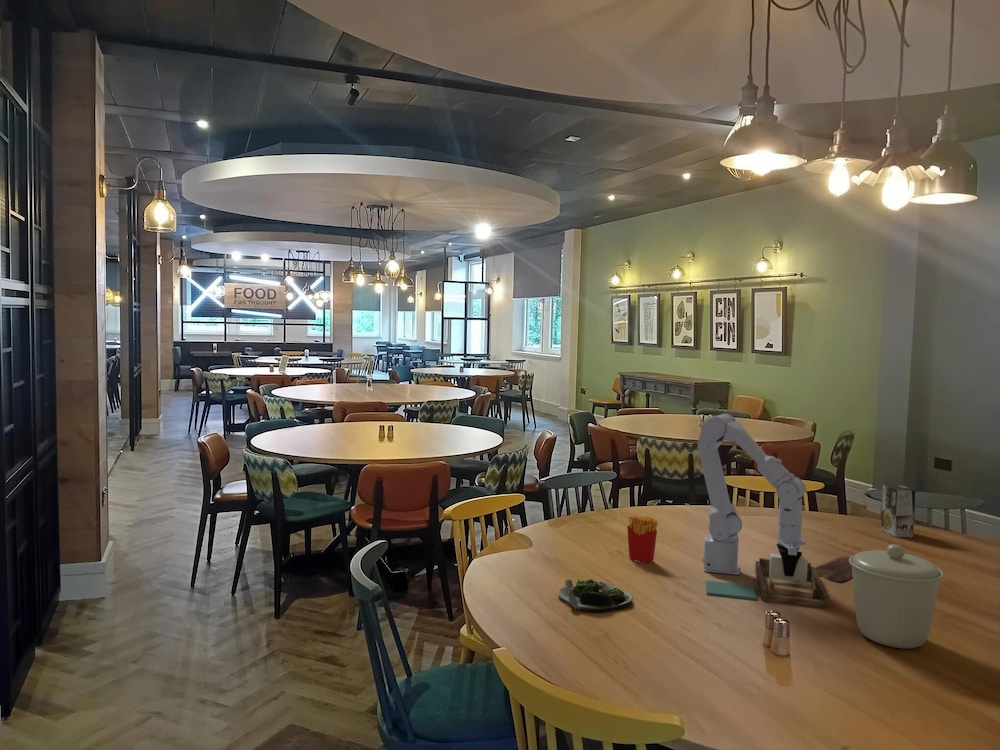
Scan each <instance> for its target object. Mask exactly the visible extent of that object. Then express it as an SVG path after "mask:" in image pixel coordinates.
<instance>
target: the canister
mask: <svg viewBox="0 0 1000 750" xmlns="http://www.w3.org/2000/svg"><path fill="white" fill-rule="evenodd" d="M849 557H850V558H849V563H850V564H851V565H852V574H853V577H852V586H853V599H854V600H853V601H854V609H855V617H856V618H855V619H856V623H857V627H858V629H859V631H860V633H861V634H862V635H863V636H865V638H867V639H869V640H871V641H872V642H874V643H877V644H880V645H883V646H885V647H891V648H894V649H895V648H897V649H906V650H907V649H915V648H919V647H921V646H923V645H924V644H925V643H926V641H927V639H928V637H929V635H930V631H931V625H932V622H933V621H932V620H933V616H934V613H935V612H934V611H935V606H936V600H937V594H938V591H939V590H938V589H939V585H940V584H939V583H940V580H942V579H943V577H944V574H945V573H944V571H943V570H942V569H940V568H939V567H938V566H936V565H934V563H932V562H930V561H929V560H927V559H924V558H923V557H922V558H921V557H919V556H916V555H912V554H908V553H906V551H905V548H904V547H902V545H899V544H895V543H892V544H889V545H888V546H887V547H886V550H879V549H873V550H866V551H865V550H864V551H860V552H857V553H855V554H853V555H851V556H849Z"/></svg>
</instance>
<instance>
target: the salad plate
mask: <svg viewBox="0 0 1000 750" xmlns="http://www.w3.org/2000/svg"><path fill="white" fill-rule="evenodd" d="M564 583H565V586H563V587H560V588H559V589H558V590H557V594H558V596H559V597H560V598H561V599H562V600H563V601H565V602H566V603H568V604H569V605H570V606H571V607H572V608H574V609H576V610H578V611H580V612H584V613H589V614H590V613H591V614H604V613H610V612H616V611H620V610H623V609H626V608H628V607H629V606H631V605H632V603H633V596H632V594H630V593H629V592H627V591H624V590H622V589H620V588H618V587H617V586H615V585H613V584H612V583H608V582H604V581H596V580H595V581H594V580H593V579H592V578H591V579H590V578H588V579H584V580H581V579H580V578H578V579H577V581H576V583H575V584H574V583H573V582H572V579H566V580H565V581H564ZM599 590H601V591H599Z"/></svg>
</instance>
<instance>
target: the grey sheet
mask: <svg viewBox="0 0 1000 750" xmlns="http://www.w3.org/2000/svg"><path fill="white" fill-rule="evenodd" d="M769 559H770V571H769V574H768V577H769V578H768V582H769V583H770V579H781V580H794V581H807V582H808V578H807V565H808V563H809V562H808V561H809V560H808V558H807V556H801V557H800V558H799V560H798V562H797V565H796V569H795V572H794V576H793V577H791V576H785V574H784V570H783V562H782V557H781V555H780V553H779V554H777V553H770V554H769Z"/></svg>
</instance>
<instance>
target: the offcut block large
mask: <svg viewBox="0 0 1000 750" xmlns="http://www.w3.org/2000/svg"><path fill="white" fill-rule="evenodd" d="M774 584H775V585H782V586H789V587H796V588H803V589H810V590H813V591H814V585H813V583H812V581H808V580H807V581H794V580H781V579H770V582H769V593H770V594H771V595H774Z"/></svg>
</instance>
